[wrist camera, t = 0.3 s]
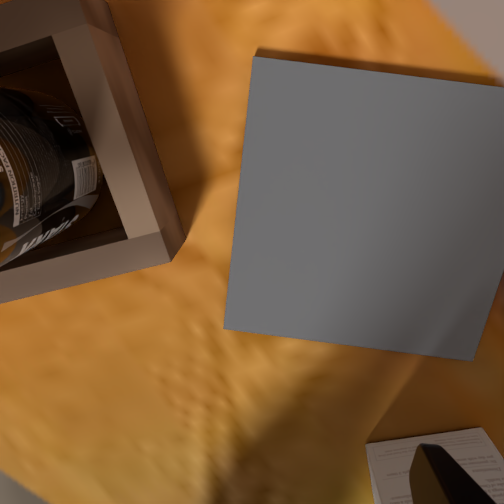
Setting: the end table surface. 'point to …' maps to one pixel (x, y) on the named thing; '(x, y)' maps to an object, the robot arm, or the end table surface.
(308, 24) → the end table surface
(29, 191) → the beverage can
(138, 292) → the end table surface
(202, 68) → the end table surface
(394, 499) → the supplement box
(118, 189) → the pocket frame
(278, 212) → the slate mat
